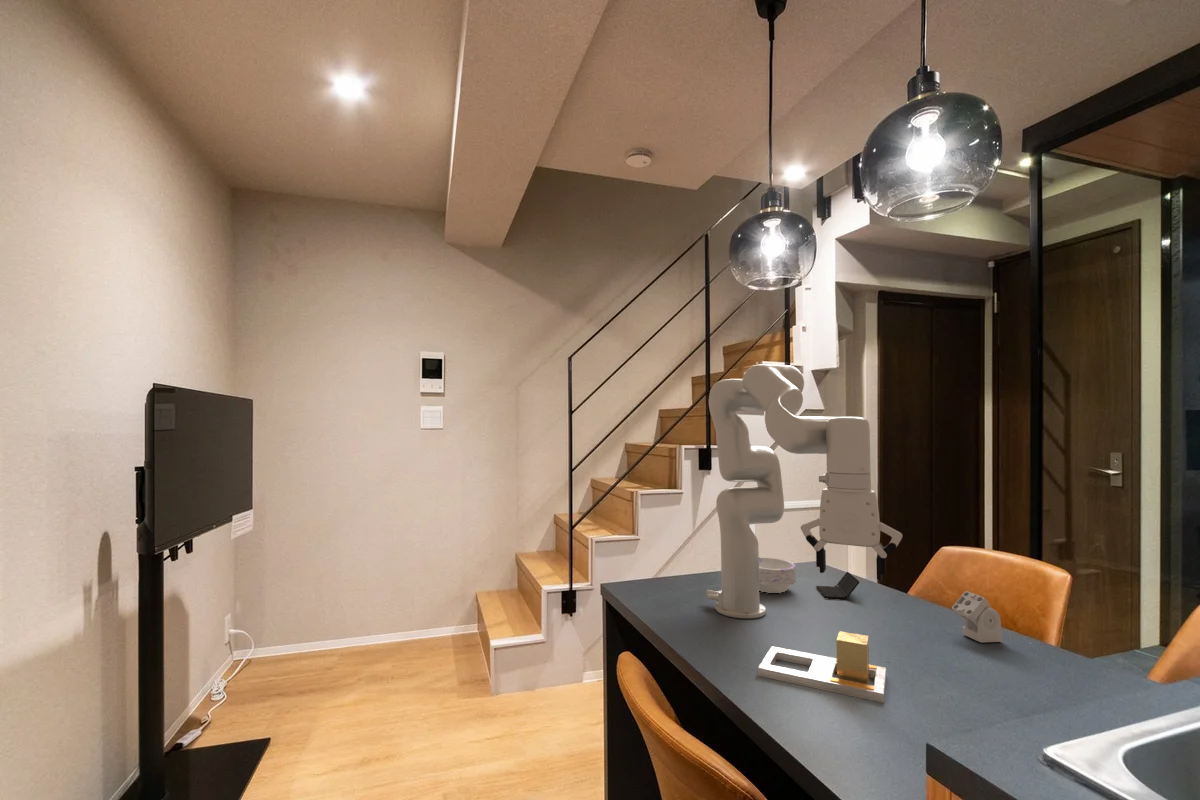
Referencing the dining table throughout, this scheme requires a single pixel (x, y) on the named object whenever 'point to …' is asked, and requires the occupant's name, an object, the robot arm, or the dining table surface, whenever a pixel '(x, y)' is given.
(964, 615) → the mechanical component
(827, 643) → the dining table surface
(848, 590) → the handheld gaming console
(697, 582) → the dining table surface
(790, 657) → the white flat frame
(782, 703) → the dining table surface
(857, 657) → the brass block
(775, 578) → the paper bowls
